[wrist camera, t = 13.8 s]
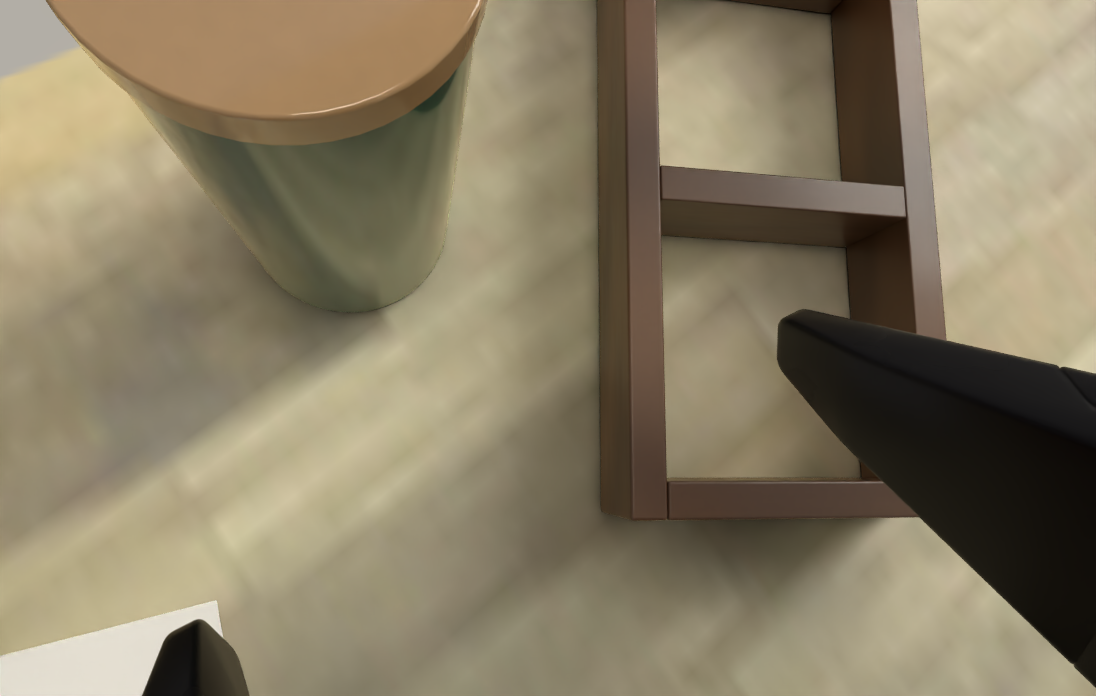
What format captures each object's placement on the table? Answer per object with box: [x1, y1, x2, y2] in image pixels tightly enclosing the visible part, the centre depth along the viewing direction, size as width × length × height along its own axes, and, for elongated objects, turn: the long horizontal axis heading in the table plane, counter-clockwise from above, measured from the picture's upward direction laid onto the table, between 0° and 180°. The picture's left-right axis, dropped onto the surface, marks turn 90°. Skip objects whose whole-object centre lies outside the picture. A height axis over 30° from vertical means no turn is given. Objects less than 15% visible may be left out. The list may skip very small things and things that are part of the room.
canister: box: [46, 0, 488, 312], centre depth 15 cm, size 6×6×12 cm
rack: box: [597, 0, 946, 521], centre depth 21 cm, size 18×10×3 cm, turn 0°
